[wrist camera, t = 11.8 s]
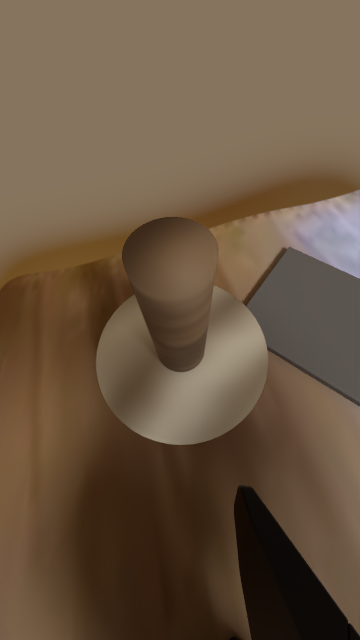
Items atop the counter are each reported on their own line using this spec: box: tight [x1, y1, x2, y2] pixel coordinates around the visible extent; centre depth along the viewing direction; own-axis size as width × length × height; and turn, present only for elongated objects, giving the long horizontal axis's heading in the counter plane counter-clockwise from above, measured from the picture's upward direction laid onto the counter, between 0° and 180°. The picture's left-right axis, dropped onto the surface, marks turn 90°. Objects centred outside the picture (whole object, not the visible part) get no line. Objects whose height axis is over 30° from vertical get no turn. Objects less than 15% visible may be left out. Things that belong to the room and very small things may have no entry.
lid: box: [96, 217, 268, 445], centre depth 14 cm, size 13×13×12 cm
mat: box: [246, 247, 360, 406], centre depth 25 cm, size 13×13×1 cm
